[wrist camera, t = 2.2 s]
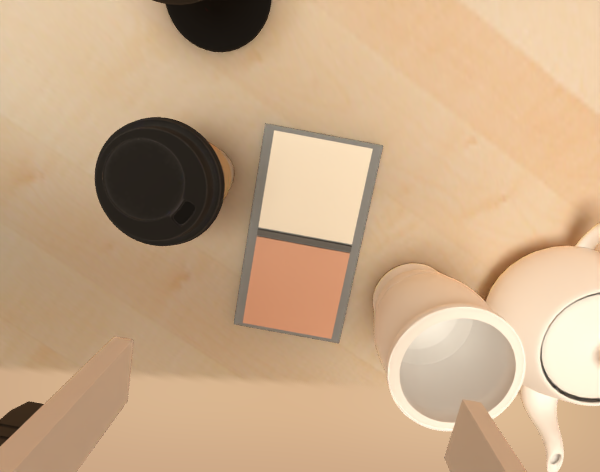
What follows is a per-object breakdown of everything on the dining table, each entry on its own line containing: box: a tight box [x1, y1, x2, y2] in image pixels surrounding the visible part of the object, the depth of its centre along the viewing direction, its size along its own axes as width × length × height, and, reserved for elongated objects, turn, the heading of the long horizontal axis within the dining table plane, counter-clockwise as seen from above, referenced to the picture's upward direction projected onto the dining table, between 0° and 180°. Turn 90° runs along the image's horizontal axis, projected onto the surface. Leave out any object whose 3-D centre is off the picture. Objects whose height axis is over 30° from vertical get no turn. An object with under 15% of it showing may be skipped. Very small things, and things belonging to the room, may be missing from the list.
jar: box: [373, 263, 526, 431], centre depth 38 cm, size 11×10×15 cm
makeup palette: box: [234, 123, 383, 343], centre depth 43 cm, size 12×22×2 cm, turn 170°
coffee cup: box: [95, 117, 234, 246], centre depth 35 cm, size 9×9×15 cm
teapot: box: [485, 222, 600, 472], centre depth 39 cm, size 25×16×12 cm, turn 168°
